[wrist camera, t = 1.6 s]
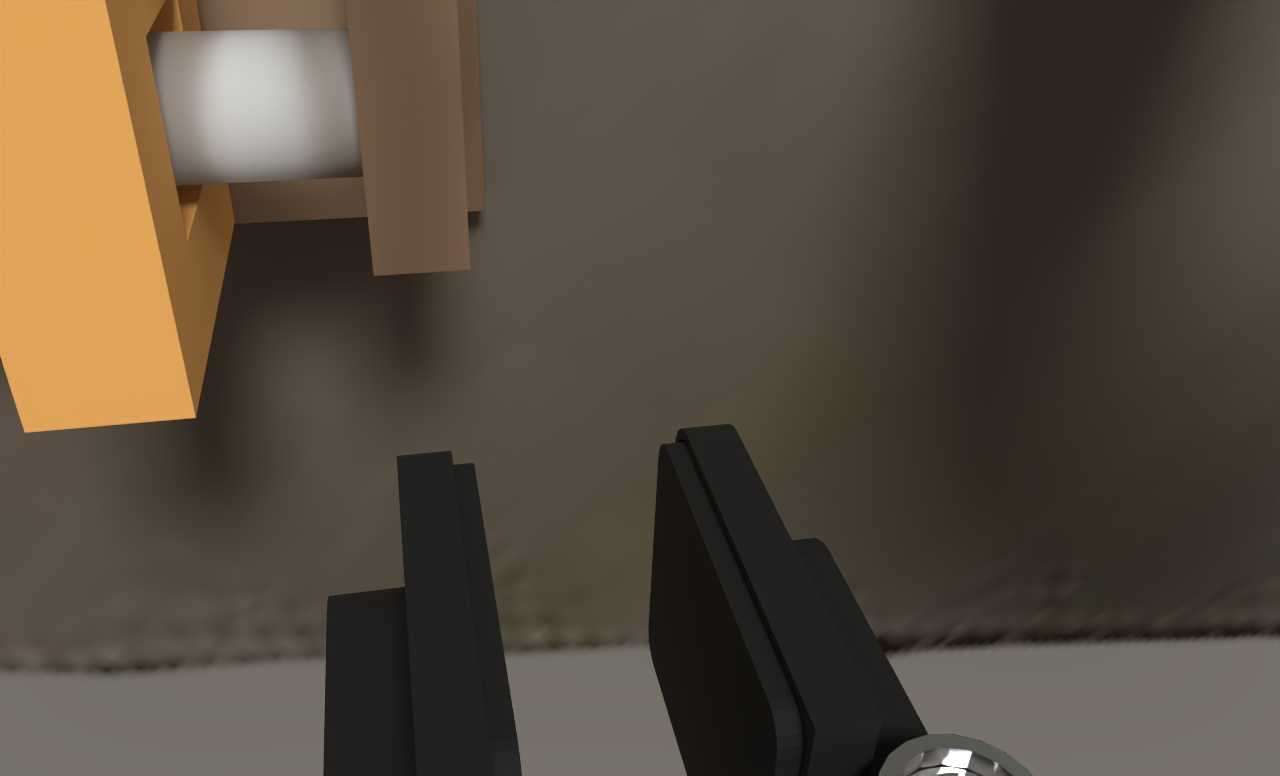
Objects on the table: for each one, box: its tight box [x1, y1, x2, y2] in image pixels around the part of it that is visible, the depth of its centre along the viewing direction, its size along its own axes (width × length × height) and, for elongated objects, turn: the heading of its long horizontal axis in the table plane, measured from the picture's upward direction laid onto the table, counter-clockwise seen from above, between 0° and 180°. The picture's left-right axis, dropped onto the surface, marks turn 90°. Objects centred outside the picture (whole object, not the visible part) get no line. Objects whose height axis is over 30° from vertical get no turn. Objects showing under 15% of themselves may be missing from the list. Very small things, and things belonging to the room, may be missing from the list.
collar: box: [0, 0, 235, 432], centre depth 22 cm, size 3×9×9 cm, turn 178°
